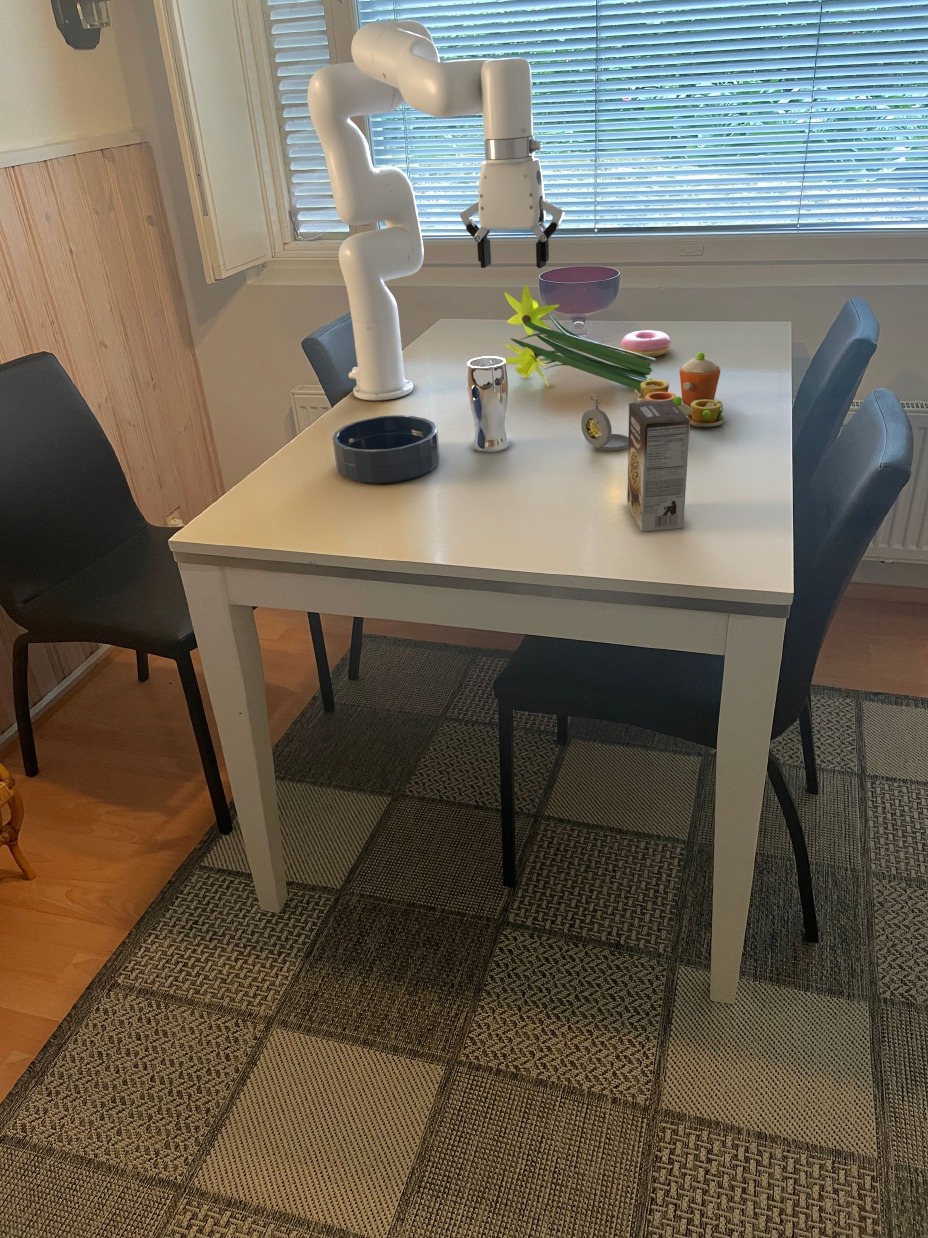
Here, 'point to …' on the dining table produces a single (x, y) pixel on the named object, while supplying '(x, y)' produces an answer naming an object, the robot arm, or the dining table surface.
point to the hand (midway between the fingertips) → (513, 266)
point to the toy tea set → (691, 392)
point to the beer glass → (488, 402)
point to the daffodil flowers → (528, 360)
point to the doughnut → (646, 343)
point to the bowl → (386, 449)
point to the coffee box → (657, 464)
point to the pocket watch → (601, 430)
